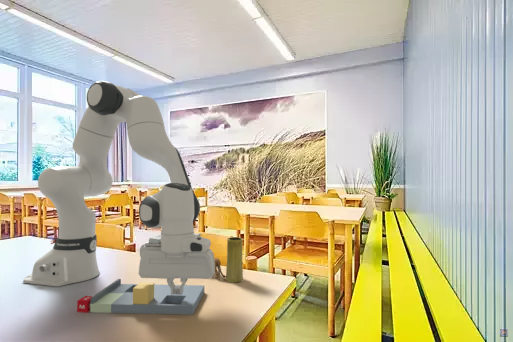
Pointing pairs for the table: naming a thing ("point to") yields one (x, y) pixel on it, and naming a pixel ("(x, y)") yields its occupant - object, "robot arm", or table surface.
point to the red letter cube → (84, 304)
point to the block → (143, 293)
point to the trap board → (121, 301)
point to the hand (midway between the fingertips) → (177, 293)
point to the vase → (234, 260)
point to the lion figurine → (217, 265)
